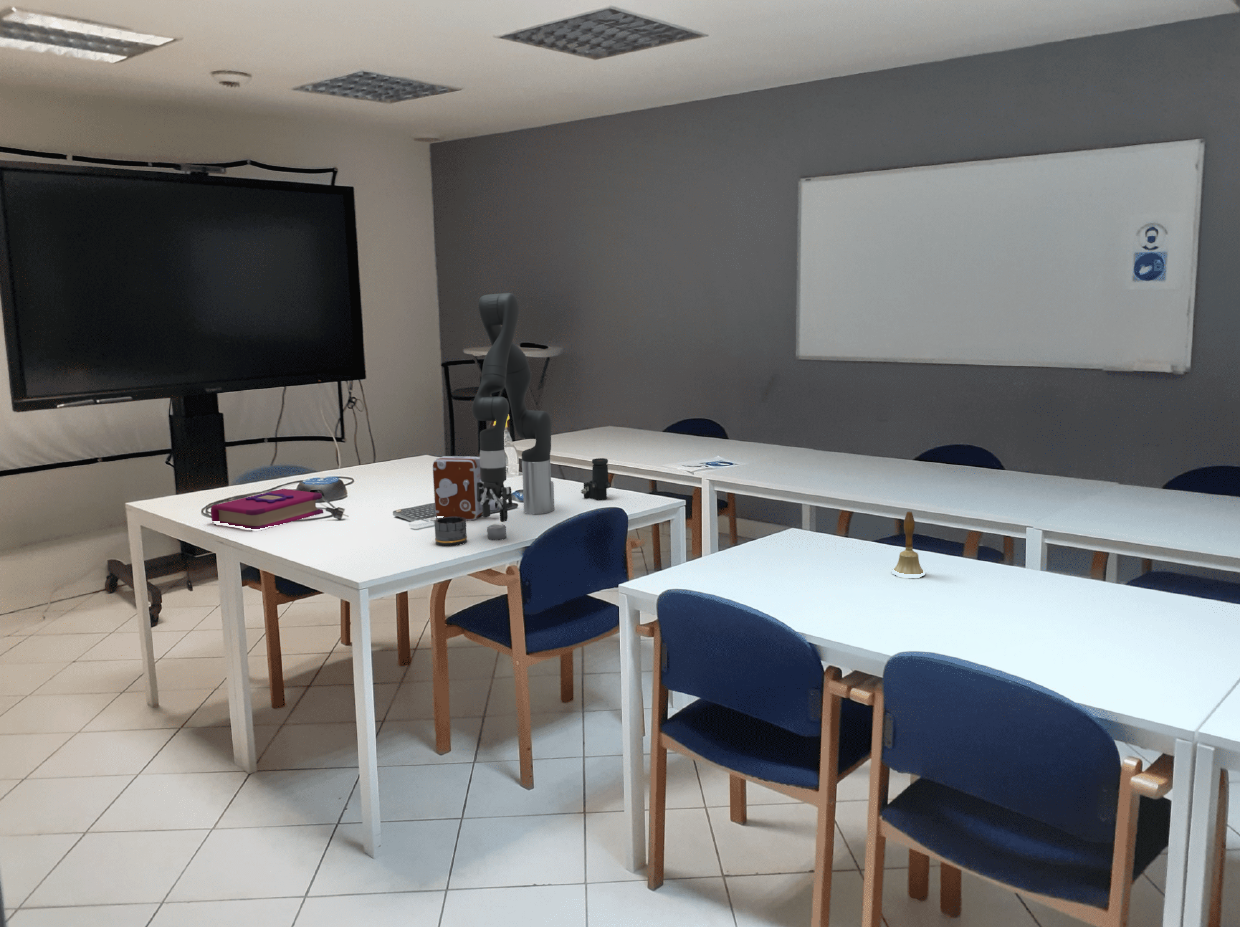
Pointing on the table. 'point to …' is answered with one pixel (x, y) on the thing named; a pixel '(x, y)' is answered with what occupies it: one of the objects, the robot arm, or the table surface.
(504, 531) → the lens cap
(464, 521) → the lens barrel
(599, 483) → the scope
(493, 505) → the cine camera
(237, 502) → the book
